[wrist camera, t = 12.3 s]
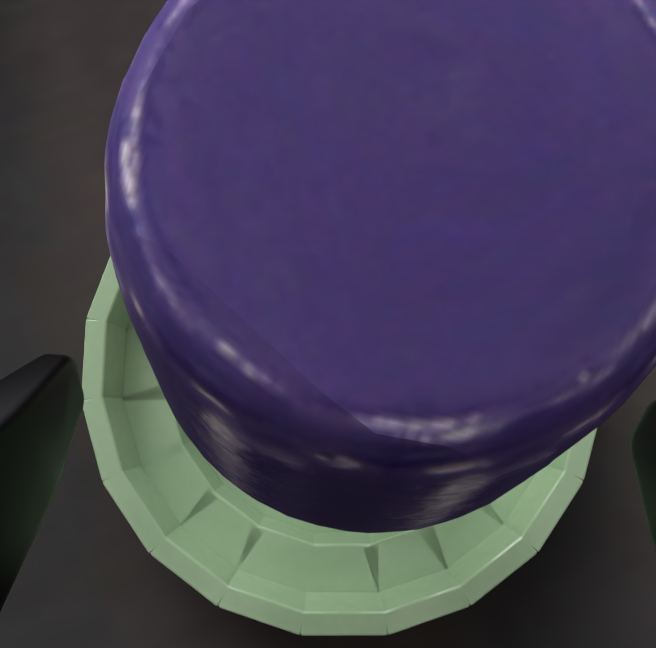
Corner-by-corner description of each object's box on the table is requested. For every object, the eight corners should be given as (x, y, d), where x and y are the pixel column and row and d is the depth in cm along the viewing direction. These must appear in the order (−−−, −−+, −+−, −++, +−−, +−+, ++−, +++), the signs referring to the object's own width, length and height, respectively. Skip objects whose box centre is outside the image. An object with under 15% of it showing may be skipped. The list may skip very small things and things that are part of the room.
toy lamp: (244, 408, 19) (-330, 408, 2) (307, 282, 19) (209, -429, 3) (377, 473, 19) (808, 1006, 2) (437, 343, 19) (1138, -58, 3)
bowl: (613, 507, 19) (684, 532, 15) (196, 652, 18) (162, 715, 14) (464, 120, 21) (495, 56, 17) (82, 237, 20) (26, 198, 16)
